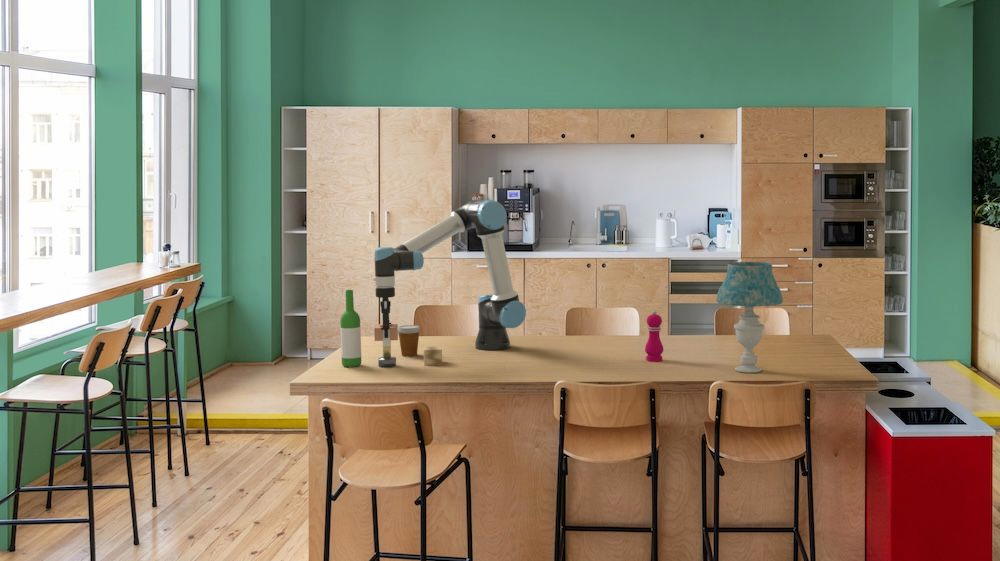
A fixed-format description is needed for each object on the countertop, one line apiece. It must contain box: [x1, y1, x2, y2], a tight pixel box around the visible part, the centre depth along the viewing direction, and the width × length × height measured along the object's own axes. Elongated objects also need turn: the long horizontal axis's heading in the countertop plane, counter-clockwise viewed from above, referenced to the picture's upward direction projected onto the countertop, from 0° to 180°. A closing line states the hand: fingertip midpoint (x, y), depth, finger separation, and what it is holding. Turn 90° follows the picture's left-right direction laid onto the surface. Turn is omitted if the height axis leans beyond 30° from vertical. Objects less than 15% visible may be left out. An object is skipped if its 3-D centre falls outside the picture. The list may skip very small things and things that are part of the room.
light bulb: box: [377, 340, 397, 369], centre depth 388 cm, size 7×7×10 cm
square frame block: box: [373, 323, 399, 342], centre depth 387 cm, size 9×9×5 cm
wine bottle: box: [340, 289, 362, 368], centre depth 389 cm, size 8×8×30 cm
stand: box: [423, 346, 443, 366], centre depth 392 cm, size 7×7×6 cm
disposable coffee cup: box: [398, 324, 421, 357], centre depth 410 cm, size 10×10×12 cm
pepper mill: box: [644, 310, 664, 363], centre depth 390 cm, size 7×7×20 cm
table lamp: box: [715, 261, 784, 374], centre depth 366 cm, size 24×24×40 cm
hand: (386, 343), depth 388 cm, fingers closed on square frame block, 9 cm apart
